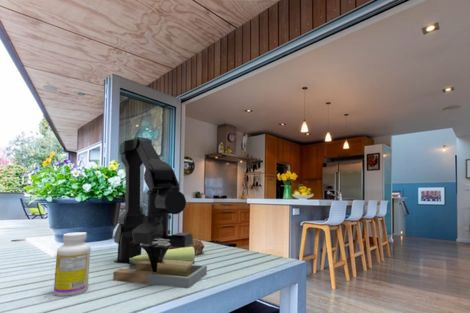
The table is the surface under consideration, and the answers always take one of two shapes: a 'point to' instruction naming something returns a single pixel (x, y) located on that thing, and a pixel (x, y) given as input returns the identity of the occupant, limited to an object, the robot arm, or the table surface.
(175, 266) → the brass block
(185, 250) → the tube
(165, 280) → the tray
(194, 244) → the donut
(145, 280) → the slot board
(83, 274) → the supplement bottle
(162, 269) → the brass block
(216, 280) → the table surface
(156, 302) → the table surface
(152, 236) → the robot arm
